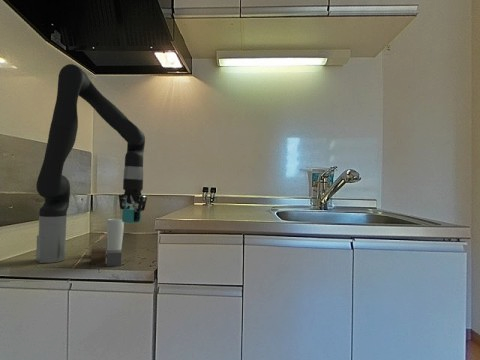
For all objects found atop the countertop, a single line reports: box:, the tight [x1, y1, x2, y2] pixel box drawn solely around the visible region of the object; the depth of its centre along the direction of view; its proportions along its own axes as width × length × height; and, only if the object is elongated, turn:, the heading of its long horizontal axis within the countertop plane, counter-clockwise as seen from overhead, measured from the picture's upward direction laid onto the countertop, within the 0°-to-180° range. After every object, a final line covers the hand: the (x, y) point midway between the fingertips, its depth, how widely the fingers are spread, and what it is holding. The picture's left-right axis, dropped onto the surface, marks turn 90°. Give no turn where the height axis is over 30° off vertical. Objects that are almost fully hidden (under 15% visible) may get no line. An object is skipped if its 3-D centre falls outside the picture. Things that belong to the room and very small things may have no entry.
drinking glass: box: [106, 218, 125, 251], centre depth 142 cm, size 7×7×15 cm
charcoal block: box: [106, 249, 122, 268], centre depth 126 cm, size 5×5×5 cm
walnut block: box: [90, 247, 107, 265], centre depth 129 cm, size 5×5×5 cm
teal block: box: [121, 208, 142, 224], centre depth 134 cm, size 5×5×5 cm
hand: (131, 220), depth 134 cm, fingers closed on teal block, 5 cm apart
